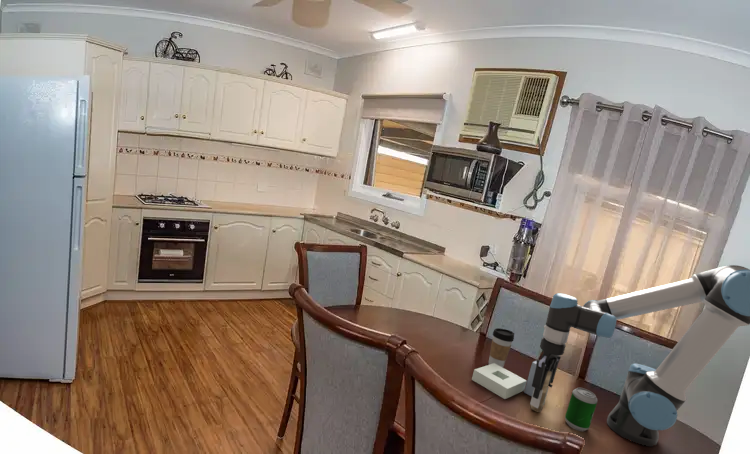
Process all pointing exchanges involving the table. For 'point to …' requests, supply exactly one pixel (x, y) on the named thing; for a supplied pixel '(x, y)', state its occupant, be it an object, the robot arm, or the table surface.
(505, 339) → the coffee cup
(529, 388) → the square peg
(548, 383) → the oak dowel
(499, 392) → the socket block
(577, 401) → the soda can
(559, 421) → the table surface
